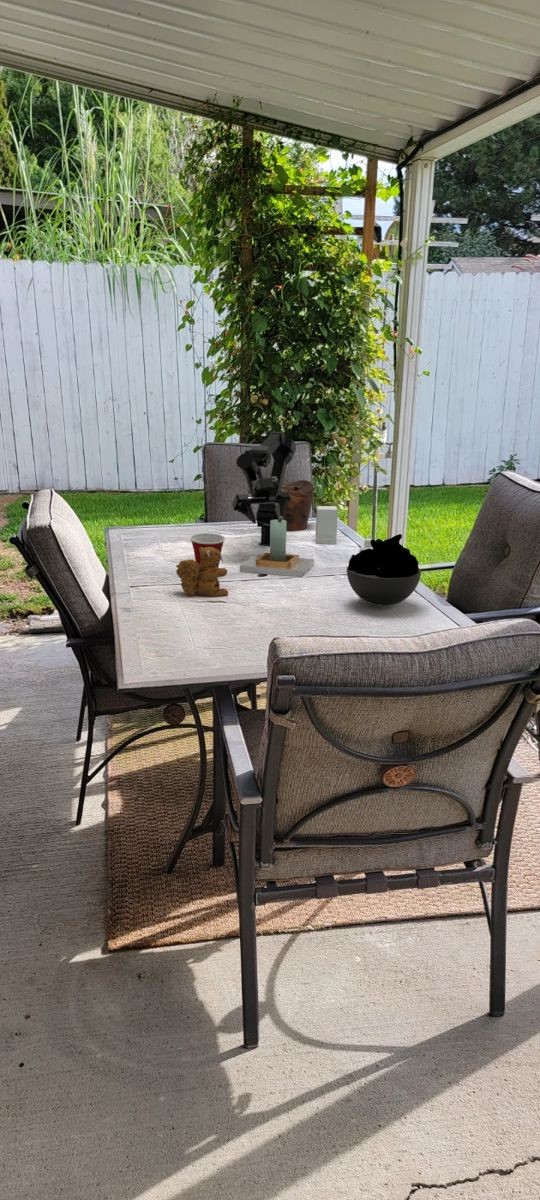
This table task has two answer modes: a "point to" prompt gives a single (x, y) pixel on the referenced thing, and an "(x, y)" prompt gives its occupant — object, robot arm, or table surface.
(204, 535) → the plastic cup
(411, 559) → the coal bowl
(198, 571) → the stuffed squirrel
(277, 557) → the spout can
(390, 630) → the table surface
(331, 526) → the supplement box
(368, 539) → the eye dropper bottle
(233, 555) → the table surface
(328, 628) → the table surface
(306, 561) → the grey flat block
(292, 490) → the brown wooden pot
